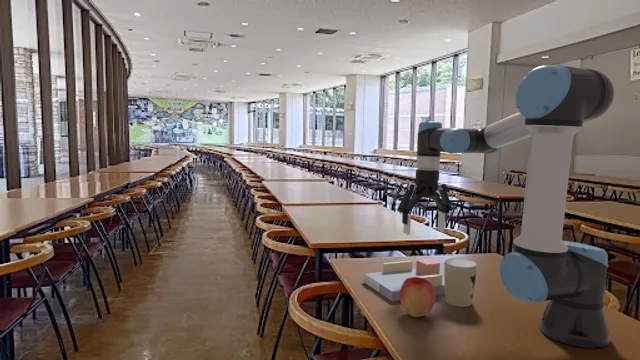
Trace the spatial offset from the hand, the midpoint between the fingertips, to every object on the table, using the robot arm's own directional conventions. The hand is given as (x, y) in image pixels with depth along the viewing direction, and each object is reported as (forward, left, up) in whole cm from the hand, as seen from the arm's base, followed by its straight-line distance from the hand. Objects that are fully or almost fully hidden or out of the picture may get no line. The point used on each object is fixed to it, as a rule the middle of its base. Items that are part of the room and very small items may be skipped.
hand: (424, 232), depth 148 cm
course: (-4, +7, -17) cm, 19 cm away
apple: (-24, +18, -17) cm, 34 cm away
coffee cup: (-19, 0, -17) cm, 25 cm away
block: (0, -2, -14) cm, 14 cm away
